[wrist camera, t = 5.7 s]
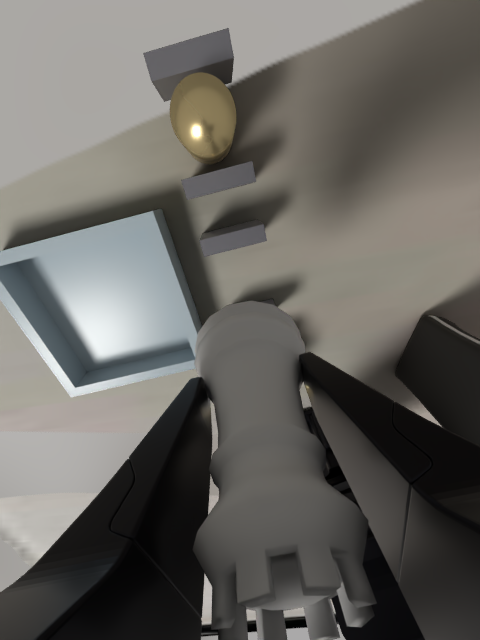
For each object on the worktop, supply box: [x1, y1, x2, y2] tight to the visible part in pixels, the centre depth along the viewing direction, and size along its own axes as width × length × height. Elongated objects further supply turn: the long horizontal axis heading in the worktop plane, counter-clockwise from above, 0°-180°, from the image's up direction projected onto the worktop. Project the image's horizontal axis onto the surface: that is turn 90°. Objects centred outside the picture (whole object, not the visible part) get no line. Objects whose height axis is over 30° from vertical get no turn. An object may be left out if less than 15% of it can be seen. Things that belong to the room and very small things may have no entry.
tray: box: [0, 209, 202, 397], centre depth 19 cm, size 12×12×2 cm
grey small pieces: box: [144, 28, 276, 306], centre depth 18 cm, size 24×4×3 cm, turn 13°
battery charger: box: [395, 315, 480, 446], centre depth 19 cm, size 7×4×11 cm, turn 174°
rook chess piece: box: [192, 301, 377, 640], centre depth 7 cm, size 4×4×8 cm
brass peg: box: [170, 72, 236, 164], centre depth 14 cm, size 3×3×4 cm
